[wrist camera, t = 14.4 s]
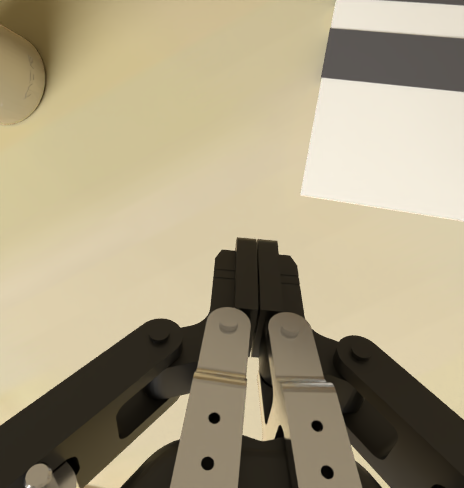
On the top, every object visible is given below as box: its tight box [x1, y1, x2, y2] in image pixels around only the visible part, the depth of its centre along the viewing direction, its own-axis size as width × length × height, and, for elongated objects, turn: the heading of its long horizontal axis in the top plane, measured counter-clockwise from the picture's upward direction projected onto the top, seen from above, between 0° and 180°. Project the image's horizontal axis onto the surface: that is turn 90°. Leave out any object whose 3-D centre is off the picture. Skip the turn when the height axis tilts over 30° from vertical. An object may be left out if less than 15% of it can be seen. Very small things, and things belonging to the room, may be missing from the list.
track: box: [300, 0, 464, 221], centre depth 32 cm, size 14×32×4 cm, turn 171°
